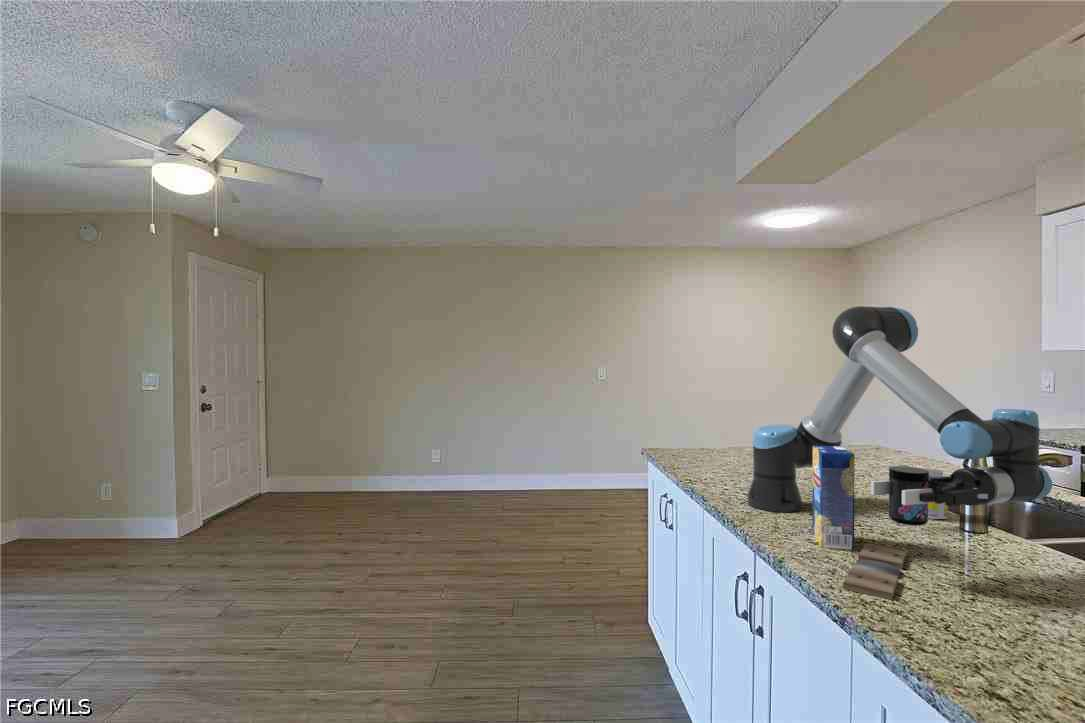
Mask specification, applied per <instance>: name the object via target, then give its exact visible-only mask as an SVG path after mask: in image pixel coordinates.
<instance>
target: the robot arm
mask: <svg viewBox="0 0 1085 723" xmlns="http://www.w3.org/2000/svg"><path fill="white" fill-rule="evenodd" d="M918 337H919V327H918V324H917V320H916V319H915V317H914V316H913V315H912V313H910V312H909V311H907V310H906V309H904V308H899V307H894V306H893V307H892V306H883V307H882V306H865V305H864V306H863V305H862V306H859V305H858V306H853V307H849V308H847V309H845V310H844V311H842V312H841V313H840V314H839V315H838V316H837V317H836V318H835V320H834V322H833V325H832V338H833V341H834V343H835V345H836V346H837V347H838V348H837V349H839V350H840V351H841V353H843V354H844V355H845V359H844V360H843V362H842V363H841V365H840V367H839V368H838V370H837V371H836V373H835V375H834V377H833V378H832V380H831V382H830V384H829V385H828V387H827V388H826V390H825V392H824V394H823V395H822V397H821V398H820V400H819V402H818V404H817V406H816V407H815V409H814V410H813V412H812V413H811V415H807V416H804V417H803V418H802V420H801V421H800V423H799V425H798V426H797V428H796V427H795V426H793V425H790V424H771V425H770V424H769V425H764V426H760V427H758V428H757V429H755V430H754V433H753V441H752V446H753V447H752V450H753V452H752V453H753V477H752V481H751V484H750V487H749V490H748V493H747V496H746V498H747V499H746V502H747V505H749V506H750V507H752V508H755V509H759V510H763V511H767V512H769V511H770V512H779V513H781V512H782V513H788V512H789V513H791V512H798V511H801V510H802V509H803V498H802V496H801V492H800V489H799V487H798V483H797V480H796V479H797V474H796V473H797V469H803V468H813V446H837V447H842V445H843V442H842V438H843V436H842V433H841V429H842V428H843V427H844V425H845V423H846V422H847V420H848V419H849V417H850V415H851V414H852V412H853V411H854V409H855V408H856V406H857V405H858V403H859V401H860V400H861V399H862V397H863V395H864V394H865V392H866V391H867V390H868V388H869V386H870V385H871V383H872V381H873V380H874V378H875V377H876V378H877V379H878V381H880V382H881V383H882V384H883V385H884V386H885V387H886V388H888V389H889V390H890V391H891V392H892V393H893V394H895V395H896V396H897V397H898V398H899V399H900V400H901V401H902V402H904V403H905V404H906V405H907V406H908V407H909V408H910V409H911V410H913V412H915V414H917V415H918V416H920V418H921V419H922V420H924V421H925V422H926V423H927V424H928V425H929V426H931V427H932V429H934V430H935V431H936V432H937V433H938V434H939V443H940V444H941V447H942V449H943V450H944V452H945V453H946V454H947V455H949V456H950V457H952V458H954V459H960V460H980V459H983V458H984V459H985V458H992V466H991V465H990V466H981V467H980V466H978V467H977V466H975V467H965V468H958V469H956V470H954V471H953V472H952V473H951V474H950V476H948V475H946V476H945V475H943V476H942V477H930V475H929V488H925V489H911V490H902V504H903V505H913V504H926V503H933V502H935V503H937V504H941V503H944V502H946V505H948V507H955V506H960V505H961V506H962V505H965V506H969V507H971V506H972V507H973V506H983V505H987V506H988V507H992V506H993V505H994V504H1002V503H1003V504H1004V503H1020V502H1023V503H1027V502H1032V501H1037V500H1040V499H1043V498H1045V497H1047V496H1048V495H1049V494H1050V493H1051V492H1052V489H1053V480H1052V479H1051V477H1050V475H1049V472H1048V471H1047V470H1046V469H1044V468H1043V467H1041V466H1040V463H1039V462H1040V461H1039V460H1040V431H1041V429H1040V425H1039V424H1040V422H1039V415H1038V414H1037V412H1036V411H1033V410H1029V409H1024V408H1023V409H1022V408H1021V409H1020V408H996V409H995V410H993V412H992V418H991V419H987V420H986V419H985V420H984V419H983V418H980V417H979V416H978V415H977V414H975V413H974V412H973V411H972V410H970V409H969V408H968V407H967V406H966V405H964V404H963V403H962V402H961V401H960V400H959V399H957V398H956V397H955V396H953V395H952V394H951V393H950V392H949V391H947V390H946V389H945V388H944V387H943V386H941V384H939V383H938V382H937V381H935V379H933V378H932V377H930V376H929V375H928V374H927V373H926V372H924V370H922V369H921V368H920V367H919V366H917V365H916V364H914V363H913V362H912V360H910V359H909V358H908V357H906V356H905V355H904V354H903V352H905V351H907V350H910V349H911V348H913V346H914V345H915V344H916V343H917V340H918ZM870 495H872V496H884V495H889V479H888V480H874V481H873V480H872V481H870Z"/></svg>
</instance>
